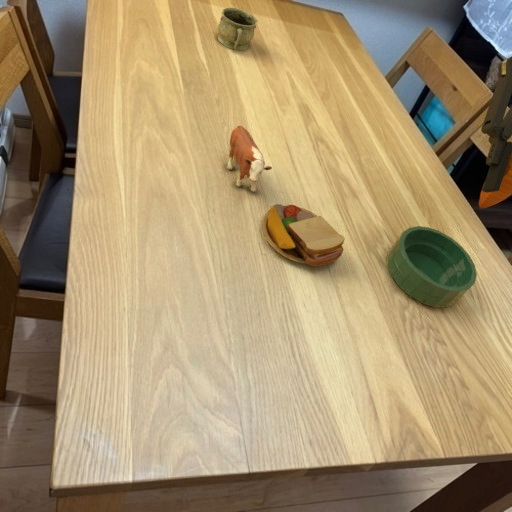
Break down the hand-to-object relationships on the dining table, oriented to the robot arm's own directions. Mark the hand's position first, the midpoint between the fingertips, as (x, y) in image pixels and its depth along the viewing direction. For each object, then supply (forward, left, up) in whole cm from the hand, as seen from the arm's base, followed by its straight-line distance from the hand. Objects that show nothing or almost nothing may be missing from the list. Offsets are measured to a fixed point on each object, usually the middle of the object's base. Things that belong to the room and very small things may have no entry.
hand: (509, 197), depth 65 cm
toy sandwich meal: (+22, -3, -22) cm, 31 cm away
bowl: (0, -4, -21) cm, 22 cm away
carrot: (0, -4, -5) cm, 7 cm away
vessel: (+45, -63, -22) cm, 80 cm away
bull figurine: (+34, -13, -22) cm, 42 cm away
